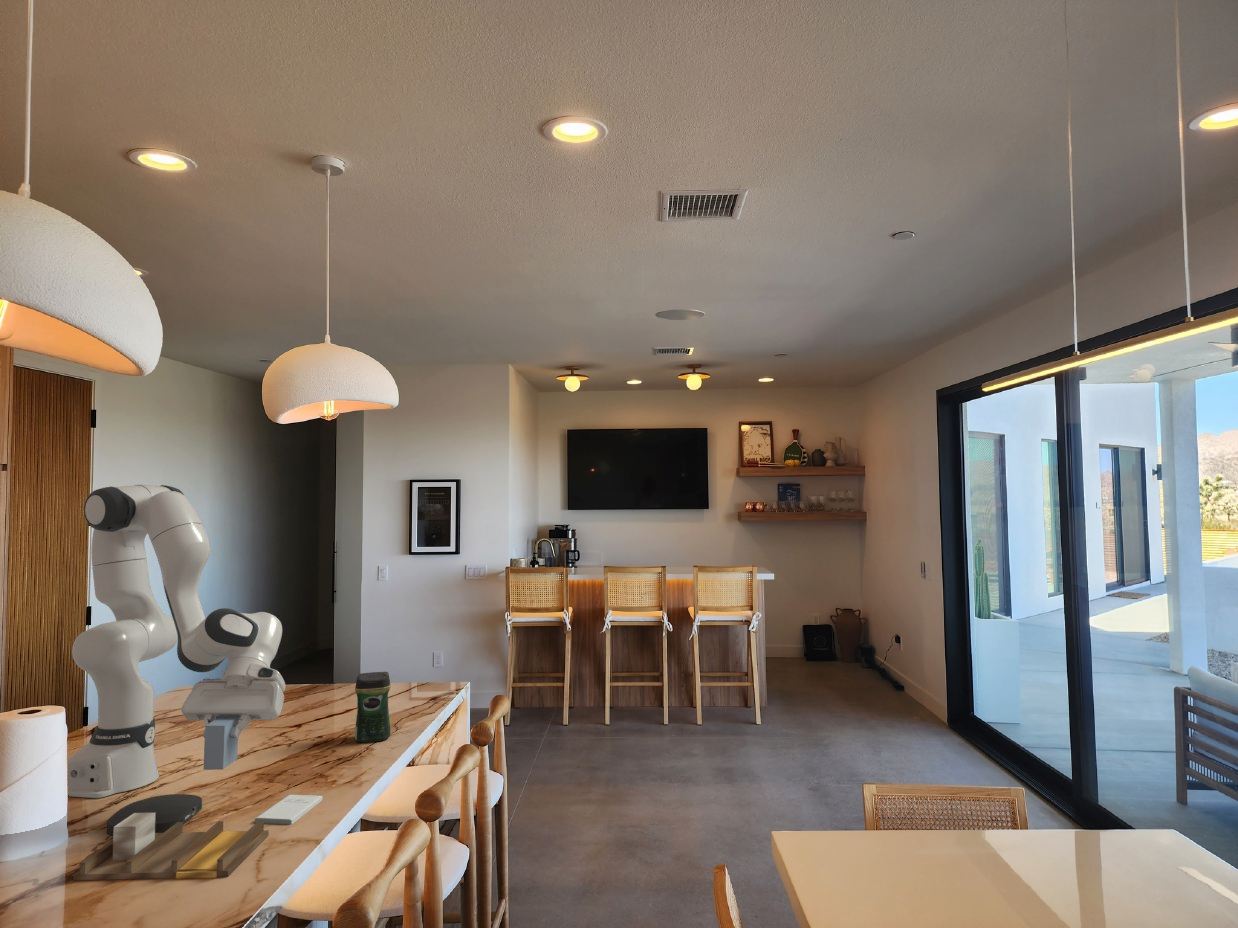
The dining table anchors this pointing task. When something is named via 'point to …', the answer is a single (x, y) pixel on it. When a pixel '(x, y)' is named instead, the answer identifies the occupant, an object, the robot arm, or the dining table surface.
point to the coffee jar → (372, 707)
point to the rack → (169, 851)
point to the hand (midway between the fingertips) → (220, 736)
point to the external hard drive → (289, 809)
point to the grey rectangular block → (220, 743)
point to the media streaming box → (160, 810)
